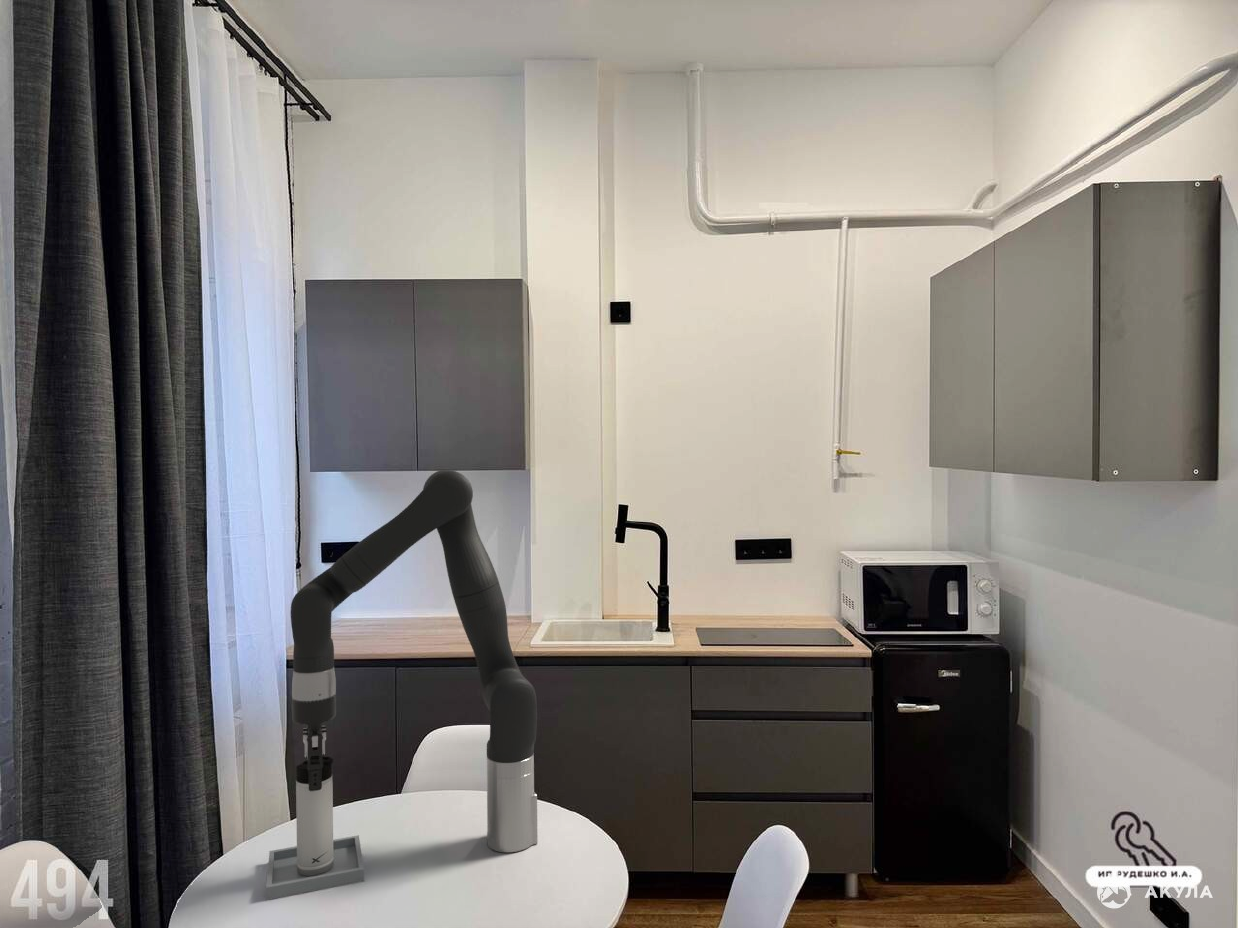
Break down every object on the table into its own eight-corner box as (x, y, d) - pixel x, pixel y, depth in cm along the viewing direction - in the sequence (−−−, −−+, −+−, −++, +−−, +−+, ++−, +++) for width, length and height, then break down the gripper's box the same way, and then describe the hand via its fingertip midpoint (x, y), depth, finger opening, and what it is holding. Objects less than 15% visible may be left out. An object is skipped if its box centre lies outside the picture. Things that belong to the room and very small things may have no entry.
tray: (358, 846, 153) (358, 835, 153) (364, 880, 140) (363, 868, 140) (269, 862, 147) (269, 850, 147) (266, 900, 134) (266, 887, 134)
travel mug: (323, 878, 140) (321, 766, 140) (289, 875, 142) (288, 764, 142) (341, 860, 146) (340, 754, 147) (310, 858, 148) (308, 752, 148)
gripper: (337, 701, 139) (338, 792, 139) (334, 681, 152) (335, 764, 152) (291, 706, 136) (292, 799, 136) (292, 685, 149) (293, 770, 149)
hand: (314, 781), depth 144 cm, fingers open, 8 cm apart
